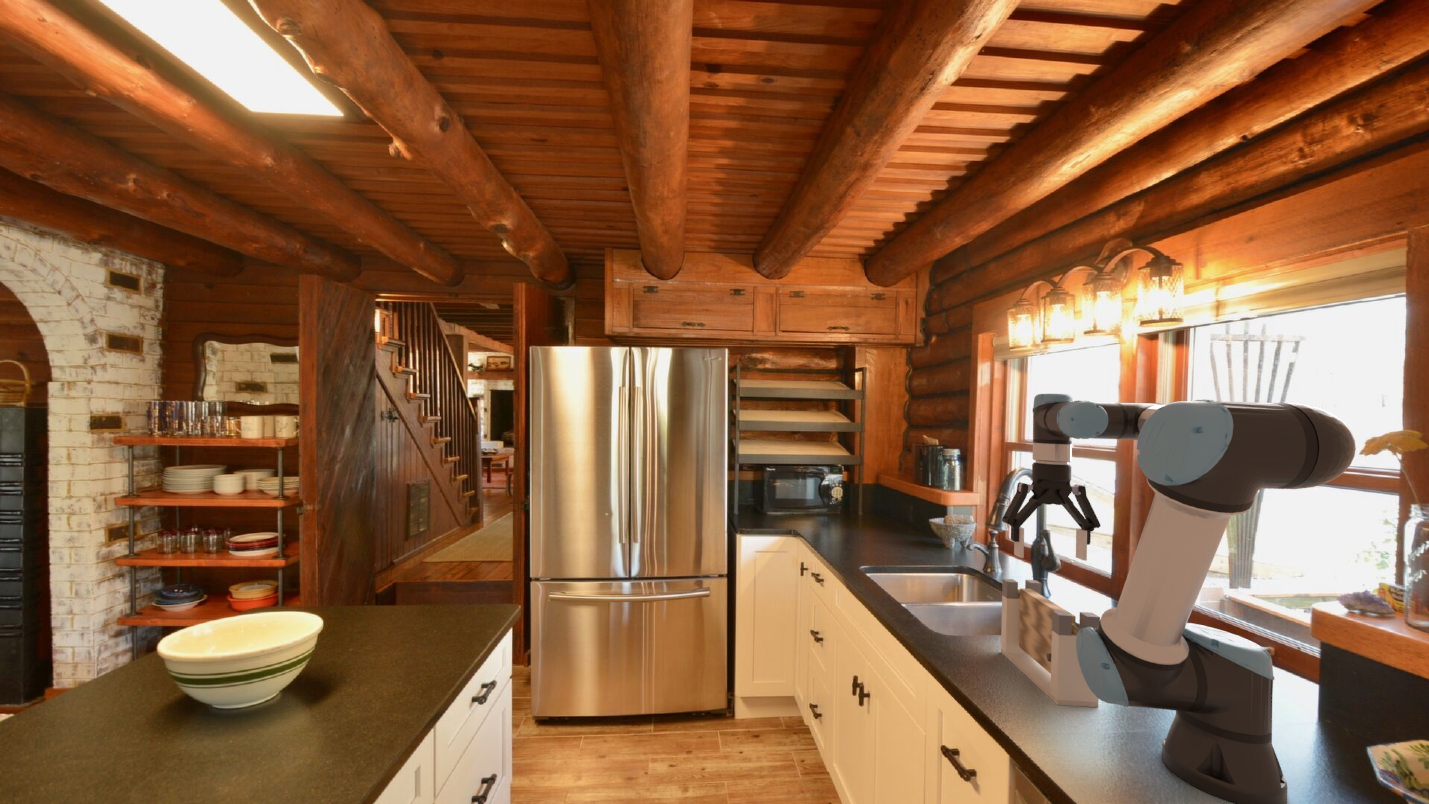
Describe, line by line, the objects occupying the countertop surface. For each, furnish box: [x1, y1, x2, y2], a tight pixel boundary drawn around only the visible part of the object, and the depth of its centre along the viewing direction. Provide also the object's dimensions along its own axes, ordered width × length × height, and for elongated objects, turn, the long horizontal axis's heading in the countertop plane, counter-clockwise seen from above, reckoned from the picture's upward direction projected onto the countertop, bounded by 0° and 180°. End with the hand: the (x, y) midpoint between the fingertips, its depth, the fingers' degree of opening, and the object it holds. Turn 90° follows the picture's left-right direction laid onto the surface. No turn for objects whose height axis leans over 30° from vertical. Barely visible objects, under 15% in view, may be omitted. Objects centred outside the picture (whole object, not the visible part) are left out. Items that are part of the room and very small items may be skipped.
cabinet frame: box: [1000, 578, 1101, 708], centre depth 124 cm, size 25×8×18 cm, turn 177°
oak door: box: [1018, 587, 1081, 674], centre depth 124 cm, size 25×4×14 cm, turn 177°
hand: (1049, 557), depth 124 cm, fingers open, 13 cm apart
